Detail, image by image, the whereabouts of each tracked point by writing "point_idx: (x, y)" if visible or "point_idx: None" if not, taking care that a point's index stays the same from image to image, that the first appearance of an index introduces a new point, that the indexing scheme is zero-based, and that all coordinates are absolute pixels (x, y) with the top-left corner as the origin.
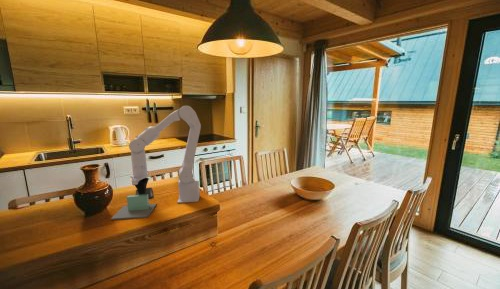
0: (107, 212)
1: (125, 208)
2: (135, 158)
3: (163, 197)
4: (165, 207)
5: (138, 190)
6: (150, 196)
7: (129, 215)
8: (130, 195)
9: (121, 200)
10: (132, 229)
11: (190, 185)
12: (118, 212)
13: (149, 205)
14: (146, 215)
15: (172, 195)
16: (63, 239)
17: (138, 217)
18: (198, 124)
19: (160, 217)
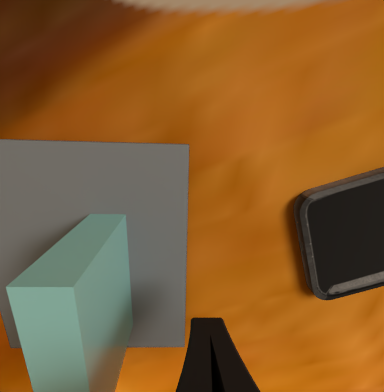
0: (96, 38)
1: (132, 178)
2: None
3: (299, 346)
4: (143, 383)
5: (184, 381)
6: (331, 283)
7: (13, 249)
8: (72, 308)
9: (351, 58)
10: None
11: None
12: (59, 152)
13: (164, 317)
14: (19, 339)
15: (315, 381)
16: None
17: (3, 301)
18: None
19: (23, 387)
